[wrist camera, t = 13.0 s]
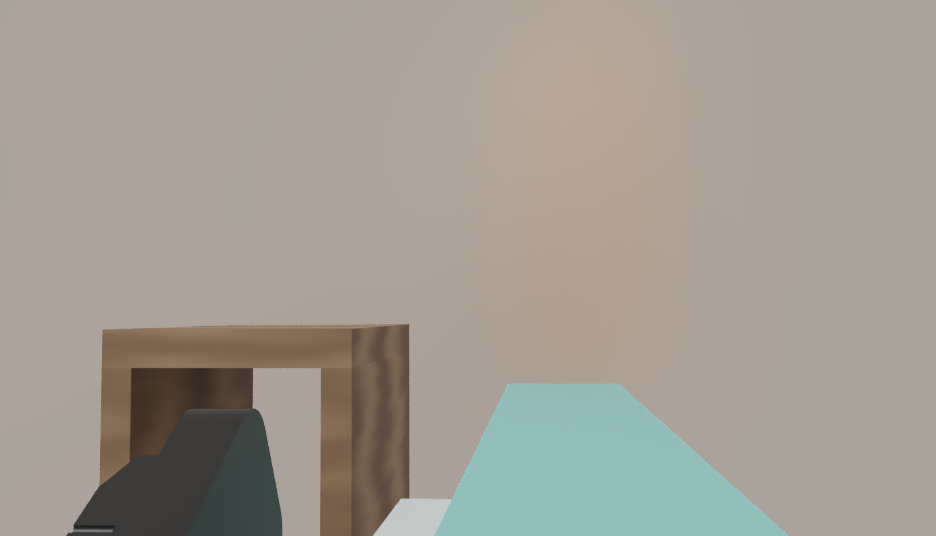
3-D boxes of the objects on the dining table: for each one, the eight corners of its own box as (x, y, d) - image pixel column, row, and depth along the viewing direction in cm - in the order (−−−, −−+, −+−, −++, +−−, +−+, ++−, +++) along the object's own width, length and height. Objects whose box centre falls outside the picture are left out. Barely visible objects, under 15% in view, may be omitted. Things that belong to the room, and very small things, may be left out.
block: (827, 873, 8) (819, 563, 8) (425, 853, 9) (424, 555, 9) (620, 468, 30) (619, 383, 30) (509, 466, 30) (508, 383, 31)
